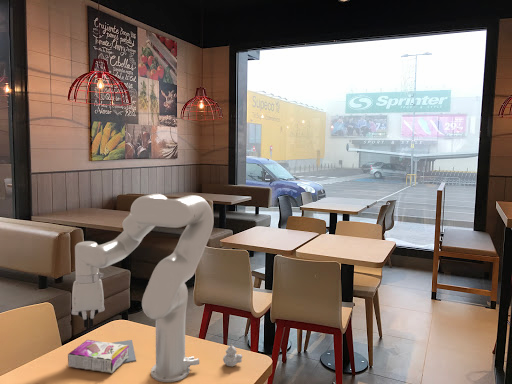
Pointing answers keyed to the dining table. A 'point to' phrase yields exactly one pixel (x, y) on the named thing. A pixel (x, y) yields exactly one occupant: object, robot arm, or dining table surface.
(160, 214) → the robot arm
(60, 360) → the dining table surface
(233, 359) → the white lumpy figure
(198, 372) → the dining table surface
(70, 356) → the candy bar box
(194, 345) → the dining table surface
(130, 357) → the mat
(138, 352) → the dining table surface
